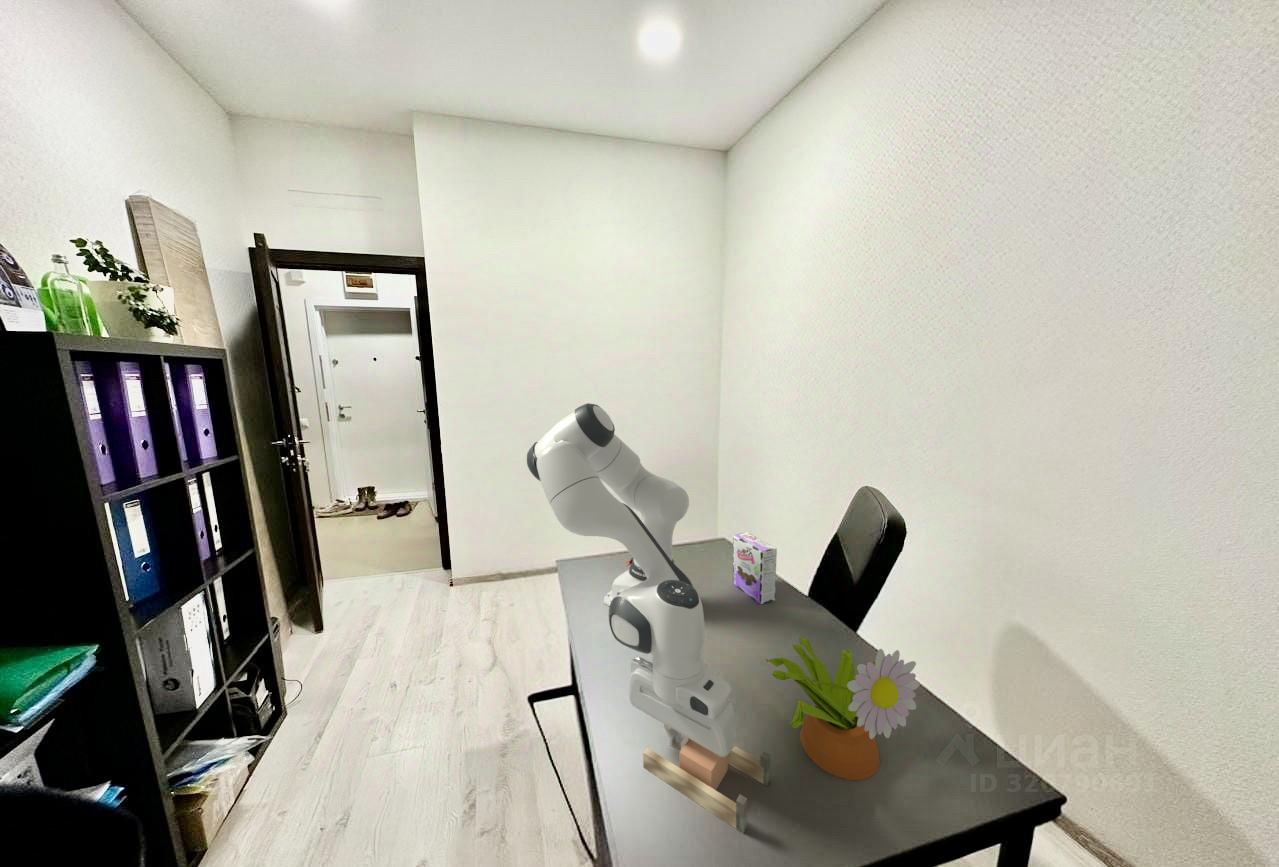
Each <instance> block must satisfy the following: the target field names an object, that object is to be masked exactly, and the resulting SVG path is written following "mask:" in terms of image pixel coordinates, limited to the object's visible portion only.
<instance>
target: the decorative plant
mask: <svg viewBox="0 0 1279 867" xmlns="http://www.w3.org/2000/svg"><path fill="white" fill-rule="evenodd" d="M798 638H799V642H800V645H802V646H803V647H804V648H805V650H804V648H802V646H800V645H798V644H794V643H793V644H792V643H791V644H790V645H791V646H792V647H793V649H794V650H795V652H796V653H797V654H798V655H799V657H800V658H801V659H802V661H803V662H804V664H805V666H806V669H807V671H808V673H809V675H810V678H811V679H810V678H809V677H808V675H807V674H806V673H805V672H804V671H803V670H802V669H801V667H800V666H799V664H797V663H796V662H793V661H791V660H790V659H787V658H785V657H775V658H771V659H767V658H765V660H766V662H769V663H770V664H772V665H773V666H775V667H777V668H778V667H780V666H781V665H783V666H784V667H785V668H786V669H787V670H788V671H786V672H784V671H782V670H774V671H772V674H771V676H773V678H774V679H776V680H781V681H786V680H788V679H792V680H794V682H796V683H797V684H798V685H799V686H800V687H801V688H802V689H803V691H804V692H805V693H806V694H807V696H808V697H809V699H810V700H812V702H813V703H814V704H815V705H812V704H810V703H807V702H805V701H802V700H800V699H798V702H797V703H798V704H797V707H796V711H795V712H794V714H793V716H792V717H793V718H792V719H791V722H790V723H789V726H792V727H793V728H794V729H797V728H799V727H800V726H801V729H800V735H799V738H800V742H801V743H800V744H801V746H802V747H803V750H804V752H805V753H806V754H807V756H808V757H809V758H810V759H811V761H812V762H813V763H814V764H816V765H817V767H819V768H820V769H822V770H824V771H825V772H827V773H829V774H831V775H833V776H835V777H837V778H841V779H844V780H845V779H846V780H850V781H856V780H857V781H860V780H865V779H868V778H870V777H872V776H873V775H875V773H877V771H878V770H879V767H880V762H881V761H880V759H881V758H880V753H879V749H878V748H879V747H878V741H877V739H876V735H877V734H878V735H880V736H881V735H882V734H883V735H884V737H885V738H886V739H889V738H890V737H891V733H892V729H894V730H897V729H898V725H899V726H900V727H901V726H902V727H906V726H907V718H906V717H908V716H909V715H910V712H909V710H910V711H911V710H912V711H914V710H916V709H917V704H916V702H915V700H914V698H915V697H916V693H915V692H914V690H916V689H918V688H919V687H920V685H921V684H920V682H919V681H918V680H916V679H915V678H916V677H917V675H916V673H913V670H914V669H915V667H916V665H917V662H916V661H911V660H910V661H909V662H906V663H905V660H904V659H900V655H901V654H900V651H899V649H897V650H895V651H894V652H893V653H892V654H891V653H888V654H886V655H885V651H884V650H883V648H879V649H878V650H877V653H876V654H875V655H876V656H875V661H872V662H871V661H868V662H867V663H866V664H863V663H860V664H857V667H856V669H857V670H856V671H857V672H858V674H856V671H855V667H854V663H853V662H854V661H853V658H852V657H853V656H852V652H851V650H844V649H841V655H840V656H841V657H840V660H839V663H838V667H837V671H836V675H835V679H834V682H833V681H832V678H831V677H830V675H829V672H828V670H827V667H826V665H825V664H824V663H823V662H821V660H819V658H818V657H817V655H816V654H815V653H814V650H813V647H812V646H811V643H810V640H808V639H806V638H803V637H798ZM806 651H807V652H808V653H807V652H806ZM808 654H809V655H810V656H811V657H810V656H809V655H808ZM804 714H806V716H804ZM804 717H805V718H804Z"/></svg>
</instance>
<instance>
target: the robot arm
mask: <svg viewBox="0 0 1279 867" xmlns="http://www.w3.org/2000/svg"><path fill="white" fill-rule="evenodd" d="M615 431H616V430H615V424H614V422H613V420H612V419H611V416H610V415H609V414H608V413H607V412H606V410H604V409H603V408H602V407H601V406H599V405H598V404H595V403H584V404H583V405H580V406H578V407H577V408H575V409H574V411H573V412H571V413H570V414H567V415H566V416H565V417H564V418H562V419H561V420H559V421H558V422H556V423H555V424H554V425H553V426H552V428H551V429H549V430H548V431H546V433H545V434H544V435H542V437H541V438H540V439H539V440H538V441H536V442H534V444H533V445H531V447H530V448H529V449H528V451H527V454H526V465H527V468H528V470H529V472H530V473H531V474H532V476H533V477H534V478H535V479H536V480H538V481H539V482H540V483H541V486H542V488H543V492H544V494H545V497H546V498H547V500H548V503H549V505H550V507H551V510H552V511H553V513H554V516H555V517H556V519H557V521H558V522H559V523H560V525H561V526H562V527H563V528H564V529H565V530H567V531H568V532H570V533H572V534H575V535H578V536H583V537H599V538H600V537H601V538H608V539H612V540H615V541H617V542H619V543H621V544H622V545H623V546H624V547H625V549H626V550H627V551H628V553H629V554H630V555H631V556H632V558H630V560H628V561H626V562H625V564H626V565H625V566H626V567H628V566H629V569H627V570H626V571H624V572H622V573H621V574H619V576H618V575H617V577H616V578H615V579H614V580H613V581H612V582H613V583H612V585H611V590H610V591H608V592H607V593H606V594H605V596H604V598H603V604H605V605H606V606H607V607H608V623H609V628H610V630H611V633H612V635H613V638H614V639H615V640H616V641H617V642H618V643H619V644H621V645H623V646H625V647H627V648H629V649H631V650H634V651H636V652H639V653H643V654H646V655H647V654H650V655H651V656H652V661H649V660H646V659H645V658H643V657H641V656H637V657H633V658H632V659H631V661H630V673H631V675H630V678H629V685H628V700H629V703H630V704H631V706H632V707H634V708H635V709H638V710H639V711H641V712H643V713H644V714H646V715H648V716H650V717H652V718H653V719H655V720H656V721H658V722H660V723H661V724H663V728H664V730H665V732H666V734H667V736H668V739H669V746H670V747H672V748H673V749H675V750H677V751H678V752H680V751H681V749H682V748H683V746H684V745H685V744H686V743H687V742H688V740H689V739H691V740H693V741H694V742H696V743H698V744H700V745H701V746H703V747H705V748H706V749H708V750H710V751H712V752H713V753H715V754H717V755H718V756H720V757H725V756H727V755H728V754H729V753H730V752H731V750H732V749H733V747H734V746H736V742H737V722H736V714H735V710H734V709H735V708H734V706H733V704H732V703H731V701H730V700H731V697H732V694H733V688H732V686H731V684H729V683H728V682H727V681H726V680H724V679H723V678H722V677H721V676H719V675H718V673H716V672H715V671H714V670H713V669H712V668H710V667H709V666H708V664H707V663H706V662H705V656H704V653H703V647H704V644H705V617H704V616H705V614H704V607H703V602H702V600H701V597H700V594H699V593H698V591H697V589H696V587H694V586H693V583H692V582H691V580H690V578H689V577H688V575H686V574H685V572H684V571H682V570H681V569H680V568H679V567H678V566H677V565H676V564H675V560H674V558H673V535H674V531H675V528H676V525H677V523H678V522H679V521H681V520H682V519H683V518H684V517H685V516H686V515H687V512H688V510H689V506H690V500H689V495H688V493H687V491H686V490H685V489H684V488H683V487H681V486H680V485H679V484H678V483H676V482H674V481H673V480H669V479H667V478H664V477H661V476H658V475H656V474H654V473H652V472H650V471H648V469H646V468H645V466H643V464H642V463H641V458H640V456H639V455H638V454H637V453H635V451H634V450H632V448H630V447H629V446H628V445H627V444H626V443H625V442H623V440H622V439H621V438H619V437H618V436H617V435H616V434H615ZM604 484H606V485H607V486H608V487H609V488H611V490H612V491H613V492H614V493H615V494H616V495H617V496H618V497H619V499H620V500H621V501H623V502H621V501H620V500H618V499H617V497H615V496H614V495H613V494H612V493H611V492H610V491H609V490H608V488H607V487H606V486H605V485H604ZM634 510H635V511H637V512H639V513H640V515H641V519H640V517H639V516H638V514H636V512H635V511H634ZM609 606H610V607H609ZM678 732H679V733H681V734H679V733H678Z"/></svg>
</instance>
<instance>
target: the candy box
mask: <svg viewBox="0 0 1279 867" xmlns="http://www.w3.org/2000/svg"><path fill="white" fill-rule="evenodd" d="M732 536H733V537H732V538H733V539H732V543H733V544H732V584H733V585H734V586H735V587H736V588H738V589H739V590H741V591H742V592H744V593H745V595H746V596H749V598H751V599H753V601H755V602H756V603H758V604H759V605H763V604H768V603H771V602H776V585H777V584H776V580H777V577H776V576H777V553H778V552H777V551H778V548H777V547H775V546H773V545H772V544H769V543H768V542H766V541H764V540H762V539H760V538H759V537H757V536H755V535H754V534H752V533H750V532H748V531H746V532H742V533H738V534H733V535H732Z"/></svg>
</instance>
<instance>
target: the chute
mask: <svg viewBox="0 0 1279 867" xmlns="http://www.w3.org/2000/svg"><path fill="white" fill-rule="evenodd" d="M678 733H679V732H678ZM679 734H681V733H679ZM642 757H643V760H642V762H643V764H642V765H643V769H645V770H647V771H648V772H649V773H651V774H653V775H654V776H655V777H657V778H659V779H660V780H661V781H663V782H664V783H666V784H667V785H669V786H671V787H672V788H673V789H675V790H677V791H678V792H680V793H681V794H683V795H685V797H687V798H689V799H690V800H692V801H693V802H695V803H696V804H698V805H700V806H701V807H703V808H704V809H705V810H707V811H709V812H710V813H712V814H713V815H714V816H716V817H717V818H719V819H720V820H722V821H724V822H725V823H727V825H728V824H729V825H730V826H732V827H733V828H734V829H736V830H737V831H739V832H740V833H742V834H745V832H746V830H747V826H748V798H747V797H745V796H744V795H742V794H740V793H739V794H738V797H737V798H736V800H735V801H734V800H732V799H730V798H729V797H727V796H726V795H724V794H722V793H721V792H719V791H717V789H716V790H714V789H713V788H711V787H710V786H708V785H706V784H705V783H703V782H702V781H700V780H698V779H697V778H695V777H693V776H692V775H690V774H689V773H687V772H685V771H684V770H682V769H681V768H679V766H677V765H676V764H674V763H673V762H672V761H669V760H668V759H666V758H665V757H663V756H661V755H660V754H658V753H656V752H655V751H653V750H652V749H650V748H649V747H646V749H644V751H643V753H642ZM729 765H730V766H731V767H733V768H735V769H736V770H738V771H740V772H741V773H743V774H746V775H747V776H749V777H750V778H753V779H754V780H756V781H757V782H759V783H761V784H762V785H763V786H768V784H769V782H770V780H771V778H770V776H771V773H770V771H771V754H770V753H769V752H766V751H765V750H762V751H761V754H760V756H759V758H758V757H756V756H754V755H752V754H750V753H749V752H746V751H745V750H743V749H742V748H740V747H738V746H736V745H734V747H733V749H732V750H731V752H730V753H729V754H728V766H729Z"/></svg>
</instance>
